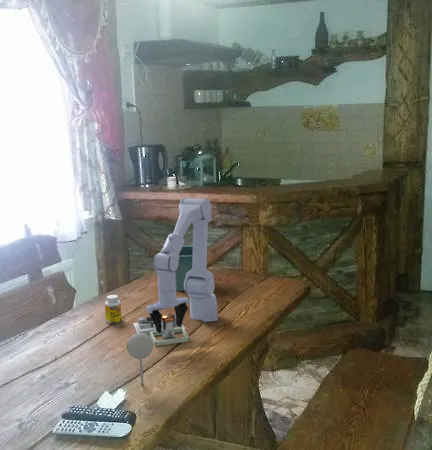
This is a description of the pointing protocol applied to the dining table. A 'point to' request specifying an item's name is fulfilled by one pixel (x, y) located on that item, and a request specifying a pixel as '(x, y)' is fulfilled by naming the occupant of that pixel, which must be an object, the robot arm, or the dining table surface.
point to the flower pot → (183, 266)
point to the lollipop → (140, 348)
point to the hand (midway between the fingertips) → (169, 329)
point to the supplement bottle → (113, 309)
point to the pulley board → (149, 325)
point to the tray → (170, 341)
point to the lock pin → (167, 326)
